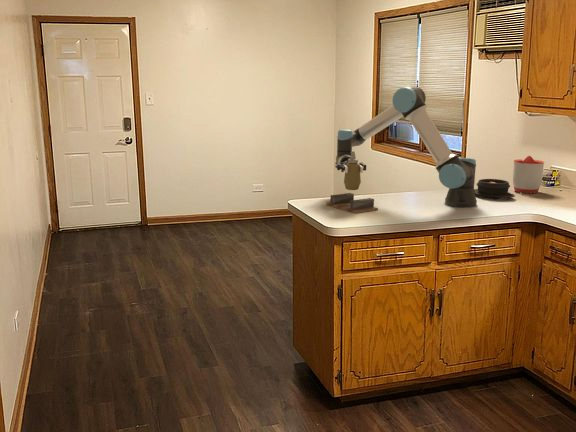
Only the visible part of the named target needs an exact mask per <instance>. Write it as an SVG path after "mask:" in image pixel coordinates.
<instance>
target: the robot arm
mask: <svg viewBox="0 0 576 432" xmlns="http://www.w3.org/2000/svg"><path fill="white" fill-rule="evenodd" d="M391 99H392V101H391V102H392V105H391V106H389V107H388V108H386V109H385V110H383V111H382V112H381V113H379V114H377V115H376V116H375V117H372V118H371V119H370V120H369V121H366V122H365V123H364V124H362V125H361V126H359V127H358V128H357V129H355V130H354V131H352V129H346V128H344V129H342V128H341V129H339V130H337V136H336V139H337V143H336V144H337V145H336V148H337V150H336V156H335V161H336V162H335V163H334V164H335V169H336V170H337V171H340V172H341V173H345V172H346V173H348V167H347V166H346V164H348V159H350V158H351V154H352V151H353V148H354V147H358V146H361V145H364V143H365V142H366V141H367V140H369V139H371V138H372V137H373V136H375V135H376V134H378V133H379V132H381V131H383V130H385V129H386V128H387V127H389V126H390V125H392V124H394V123H395V122H397V121H399V119H401V118H404V120H406V121H409V122H410V123H411V124H412V126H413V128H414V129H415V131H416V133H417V135H418V136H419V137H420V139H421V141H422V142H423V145H424V146H425V148H426V149H427V151H428V152H429V154H430V155H431V157H432V159H433V160H434V162H435V170H436V171H437V173H438V179H439V182H440V184H441V185H443V187H445V188H448V191H447V193H446V197H445V198H444V205H447V206H450V207H456V208H457V207H458V208H471V207H472V208H474V207H475V206H477V204H478V203H477V201H478V200H477V199H476V194H475V192H474V189H475V183H476V182H475V180H476V167H477V162H476V161H477V160H476V159H475V158H468V157H467V158H466V157H459V155H458V154H456V153H453V152H452V150H451V149H450V147H449V145H448V144H447V143H446V141H445V139H444V137H443V135H442V134H441V133H440V131H439V130H438V128H437V127H436V125H435V123H434V122H433V120H432V118H431V117H430V115H429V114H428V112H427V104H426V99H427V96H426V93H425V91H424V90H423V89H422V88H421V87H419V86H415V85H414V86H403V87H400V88H398V89H397V90H396V91H395V92H394V93H393V96H392V98H391ZM358 164H359V165H360V174H363V173H364V171H365V172H366V171H367V164H366V163H363V162H358Z"/></svg>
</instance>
